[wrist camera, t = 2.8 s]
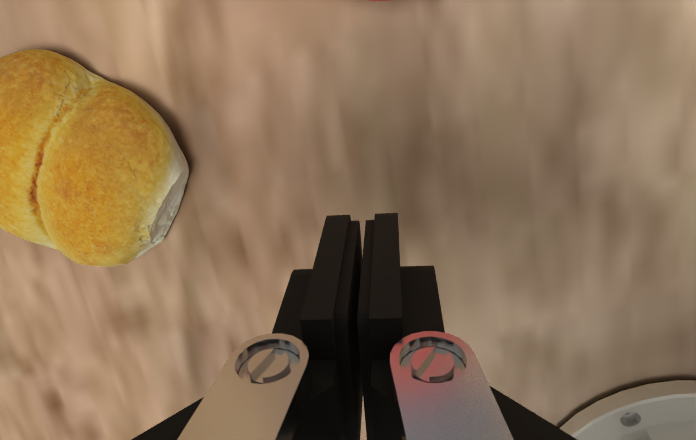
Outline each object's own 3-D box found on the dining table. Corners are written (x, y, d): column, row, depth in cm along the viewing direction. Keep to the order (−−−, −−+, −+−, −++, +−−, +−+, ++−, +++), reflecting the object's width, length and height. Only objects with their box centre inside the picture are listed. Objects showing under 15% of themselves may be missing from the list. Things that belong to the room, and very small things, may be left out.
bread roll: (2, 14, 19) (-92, 19, 15) (214, 122, 20) (173, 150, 16) (-27, 189, 22) (-109, 227, 19) (156, 274, 23) (111, 325, 20)
